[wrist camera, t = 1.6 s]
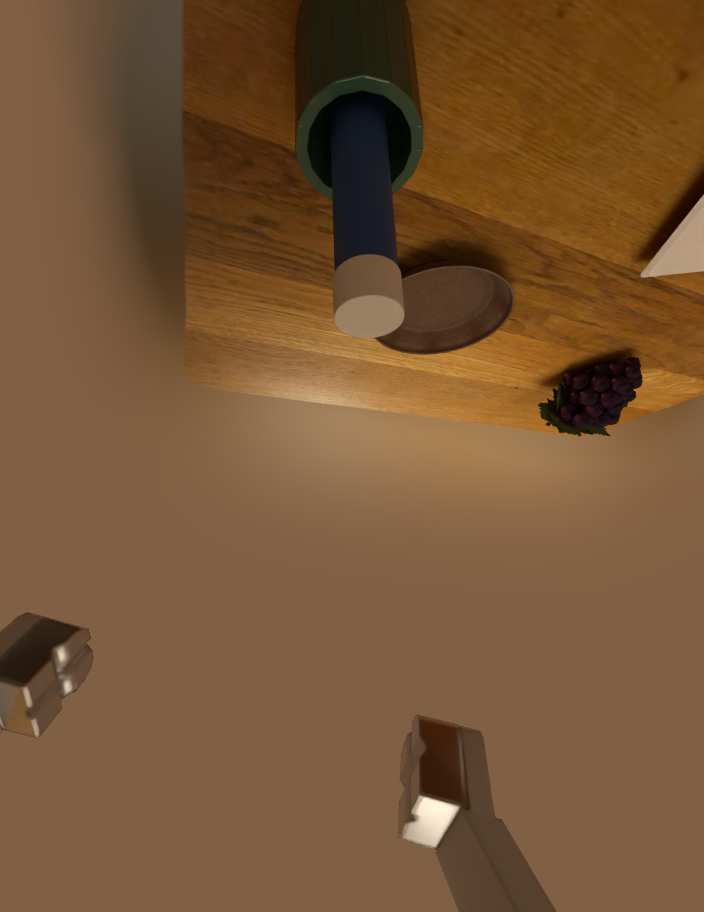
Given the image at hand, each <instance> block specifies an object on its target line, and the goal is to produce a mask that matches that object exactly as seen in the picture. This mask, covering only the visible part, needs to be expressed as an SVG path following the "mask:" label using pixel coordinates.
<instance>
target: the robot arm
mask: <svg viewBox="0 0 704 912" xmlns="http://www.w3.org/2000/svg"><path fill="white" fill-rule="evenodd" d="M90 638H91V637H90V632H89V629H87V628H84V627H80V626H76V625H73V624H69V623H65V622H62V621H58V620H54V619H50V618H48V617H44V616H40V615H36V614H32V613H28V612H27V613H24V614H22V615H20V616H18V617H17V618H16V619H14V620H13V621H12V622H11V623H10V624H9V625H8V626H7V627H5V628H4V629H3V630H2V631H1V632H0V733H1V732H2V730H6V731H10V732H14V733H18V734H22V735H26V736H30V737H35V738H39V737H40V736H41V734H42V733H43V732H44V731H45V729H46V728H47V727H48V726H49V724H50V723H51V722H52V721H53V719H54V718H55V717H56V716H57V714H58V713H59V712H60V711H61V709H62V700H63V698H65V697H66V696H68V695H70V694H72V693H74V692H75V691H77V689H78V688H79V687H80V685H81V684H82V683H83V681H84V680H85V679H86V677H87V674H88V673H89V671H90V668H91V666H92V661H93V651H92V650H91V648H90V647H89V646H88V645H87V644H86V643H87V642H88V641H89V640H90ZM488 773H489V772H488V766H487V759H486V752H485V745H484V738H483V736H482V734H481V732H480V731H479V730H475V729H472V728H468V727H464V726H459V725H458V724H454V723H450V722H445V721H441V720H437V719H433V718H429V717H425V716H421V715H416V716H415V717H414V719H413V722H412V732H411V733H408V734H407V736H406V739H405V742H404V745H403V750H402V755H401V765H400V780H401V782H402V784H403V786H404V788H405V790H404V792H403V794H402V796H401V799H400V801H399V826H398V838H399V839H402V840H406V841H409V842H412V843H415V844H418V845H422V846H425V847H428V848H431V849H435V850H437V851H436V854H437V857H438V860H439V862H440V865H441V867H442V870H443V872H444V875H445V877H446V880H447V883H448V885H449V888H450V890H451V893H452V895H453V898H454V900H455V903H456V905H457V908H458V910H459V912H556V910H555V909H554V907H553V905H552V904H551V902H550V900H549V899H548V897H547V895H546V893H545V892H544V890H543V888H542V887H541V885H540V883H539V882H538V880H537V878H536V876H535V875H534V873H533V871H532V870H531V868H530V866H529V865H528V863H527V861H526V859H525V858H524V856H523V854H522V853H521V851H520V849H519V848H518V846H517V844H516V843H515V841H514V839H513V837H512V836H511V834H510V832H509V831H508V829H507V827H506V826H505V824H504V822H503V821H502V819H498V818H496V817H495V813H494V807H493V800H492V793H491V786H490V779H489V774H488Z"/></svg>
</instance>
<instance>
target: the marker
mask: <svg viewBox="0 0 704 912" xmlns="http://www.w3.org/2000/svg"><path fill="white" fill-rule="evenodd" d="M330 134H331V167H332V199H333V231H334V263H335V273H334V276H333V306H334V322H335V324H336V326H337V328H338V329H339V330H340V331H342V332H343V333H345V334H347V335H349V336H352V337H357V338H375V337H380V336H383V335H386V334H389V333H391V332H393V331H394V330H396V329H397V328H398V327H399V326H400V325H401V323H402V322H403V320H404V316H405V311H404V300H403V288H402V277H401V272H400V269H399V267H398V258H397V246H396V234H395V222H394V210H393V199H392V187H391V175H390V163H389V152H388V140H387V128H386V116H385V104H384V96H383V95H379V94H374V93H370V92H366V91H358V92H354V93H349V94H345V95H340V96H338V97H337V98H336V99H334V100H333V101H332V102H330Z"/></svg>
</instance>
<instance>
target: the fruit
mask: <svg viewBox="0 0 704 912" xmlns="http://www.w3.org/2000/svg"><path fill="white" fill-rule="evenodd" d="M640 367H641V364H640V361H639V358H635V357H629V358H628V359H626V360H624V361H623V362H620V361H615V360H612V362H611V363H610V365H609V366H608V365H607V364H606V363H601V364H598V365H595V367H594V366H592V367H589V368H587V369H586V370H585V372H584V374H581V373H580V372H578V371H576V370H571V371H568V372H567V373H565V374H564V376H563V380H562V381H563V382H564V383H565V384H564V385H563V384H562V383H560V381H559V383H558V390H557V391H556V389H554V388H553V392H554V396H553V398H554V400H552V401H551V400H549V399H548V398H547V400H548V403H539V404H538V406H539V407H542V408H539V409H540V410H541V412H540V413H541V418H542V419H544V420H547V421H548V422H547V423H546V425H547V426H550V425H551V424H552V425H553V426H556V427H557V428H558V430H559V432H560V433H566V432H567V433H568V434H574V435H575V436H576V434H577V435H578V436H581V433H580V432H582V433H584V434H585V433H587V434H591V435H594V434H597V433H598V434H602V435H607V436H610V435H609V434H608V433H607V432H606V431H605V430H607V429H606V428H604V426H606V425H613V424H616V423H617V422H618V421H619V418H620V413H621V411H622V409H623V408H624V407H627V405H628V402H631V401H632V400H634V399H635V398H636V392H635V391H634V390H633V389H637V388H639V387H641V385H642V381H643V380H642V375H641V371H640ZM564 386H565V388H564ZM593 433H594V434H593Z"/></svg>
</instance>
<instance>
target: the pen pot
mask: <svg viewBox="0 0 704 912" xmlns="http://www.w3.org/2000/svg"><path fill="white" fill-rule="evenodd" d="M358 91H366V92H370V93H374V94H379V95H383V96H384V104H385V116H386V128H387V140H388V152H389V163H390V175H391V187H392V194H394V193H396V192H397V191H398V190H400V188H401V187H402V186H403V185H404V184H405V183H406V182H407V180H408V179H409V178H410V177H411V176H412V175H413V173H414V172H415V169H416V167H417V164H418V162H419V159H420V157H421V154H422V151H423V120H422V112H421V103H420V95H419V87H418V78H417V70H416V62H415V53H414V45H413V37H412V29H411V22H410V18H409V14H408V9H407V6H406V3H405V0H303V1H302V4H301V7H300V10H299V14H298V18H297V26H296V45H295V152H296V155H297V158H298V162H299V165H300V168H301V171H302V173H303V175H304V176H305V177H306V179H307V180H308V181H309V182H310V184H311V185H312V186H313V187H314V189H315V190H316V191H317V192H319V193H320V194H322V195H324V196H326V197H327V198H329V199H331V200H333V199H332V167H331V134H330V102H332V101H333V100H334V99H336V98H337V97H338V96H340V95H345V94H349V93H354V92H358Z"/></svg>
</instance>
